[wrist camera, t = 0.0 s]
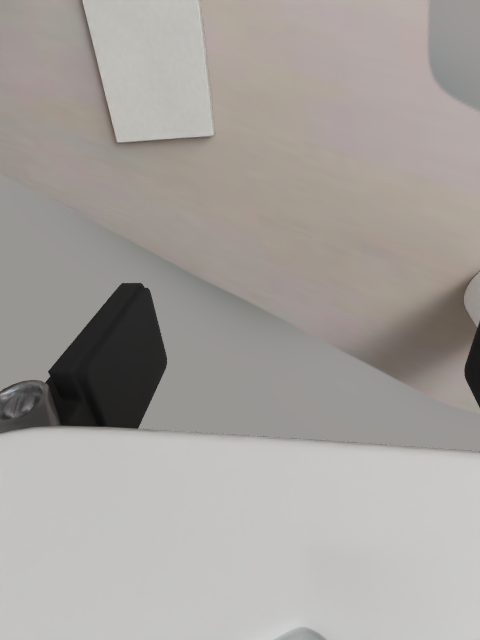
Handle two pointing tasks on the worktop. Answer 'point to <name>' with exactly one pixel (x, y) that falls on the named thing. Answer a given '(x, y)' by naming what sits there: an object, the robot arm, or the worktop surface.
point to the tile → (152, 67)
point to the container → (473, 299)
